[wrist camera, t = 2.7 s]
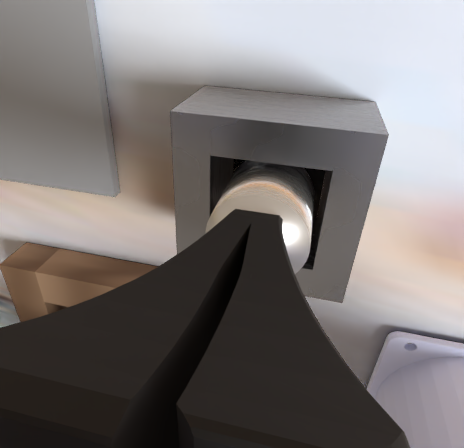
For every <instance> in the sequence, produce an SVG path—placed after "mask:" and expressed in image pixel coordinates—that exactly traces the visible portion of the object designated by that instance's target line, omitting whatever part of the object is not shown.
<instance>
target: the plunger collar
mask: <svg viewBox="0 0 464 448" xmlns="http://www.w3.org/2000/svg"><path fill="white" fill-rule="evenodd" d="M170 118H171V138H172V159H173V180H174V200H175V221H176V242H177V254H179V253H180V252H181V251H183V250H184V249H186V248H187V247H189V246H190V245H191V244H193V243H194V242H195V241H197V240H198V239H199V238H200V237H202V236H203V235H204V234H205V233H206V226H207V222H208V220H209V218H210V216H211V214H212V212H213V210H214V208H215V207H216V205H217V203H218V201H219V199H220V197H221V196H222V194H223V192H224V190H225V188H226V186H227V185H228V183H229V181H230V179H231V177H232V175H233V163H234V159H241V160H249V161H257V162H265V163H272V164H280V165H288V166H296V167H304V168H312V169H319V170H325V176H324V181H323V186H322V191H321V197H320V202H319V207H318V212H317V217H313V221H312V233H311V244H310V252H309V256H308V258H307V261H306V262H305V264H304V265H303V267H302V268H301V269H300V270H299V271H298V272H297V273H296V274H295V276H296V278H297V281H298V283H299V285H300V288H301V290H302V292H303V294H304V296H308V297H313V298H318V299H324V300H329V301H335V302H340V303H342V302H343V299H344V295H345V291H346V288H347V284H348V280H349V277H350V273H351V270H352V266H353V262H354V259H355V255H356V251H357V248H358V244H359V241H360V237H361V233H362V230H363V226H364V222H365V219H366V215H367V212H368V208H369V204H370V201H371V197H372V193H373V190H374V186H375V183H376V179H377V175H378V172H379V168H380V164H381V161H382V157H383V154H384V150H385V146H386V143H387V139H388V135H389V134H388V132H387V129H386V127H385V124H384V122H383V119H382V117H381V114H380V112H379V109H378V107H377V104H376V102H372V101H361V100H351V99H340V98H330V97H319V96H309V95H298V94H288V93H277V92H267V91H256V90H246V89H235V88H225V87H214V86H204V87H202V88H201V89H200V90H198V91H197V92H195V93H194V94H193V95H191V96H190V97H189V98H187V99H186V100H185V101H183V102H182V103H180V104H179V105H178V106H176V107H175V108H174V109H172V110H171V111H170Z"/></svg>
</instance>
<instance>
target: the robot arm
mask: <svg viewBox="0 0 464 448" xmlns="http://www.w3.org/2000/svg"><path fill="white" fill-rule="evenodd" d="M282 223H283V219H282V218H281V217H280V215H274V214H268V213H261V212H254V211H247V210H241V209H235V210H233V211H232V212H231V213H229V214H228V215H227V216H226V217H225V218H224V219H222V220H221V221H220V222H219V223H218V224H217V225H215V226H214V227H213V228H212V229H211V230H209V231H208V232H207V233H206V234H204V235H203V236H202V237H200V238H199V239H198V240H197V241H195V242H194V243H193V244H191V245H190V246H189V247H187V248H186V249H184V250H183V251H181V252H180V253H179V254H177V255H176V256H174V257H173V258H171V259H170V260H168V261H167V262H165V263H164V264H162V265H160V266H159V267H157V268H155V269H153V270H151V271H150V272H148V273H146V274H144V275H142V276H140V277H138V278H136V279H135V280H132V281H130V282H128V283H126V284H124V285H121V286H119V287H117V288H115V289H113V290H110V291H108V292H106V293H104V294H102V295H99V296H97V297H94V298H92V299H89V300H87V301H84V302H81V303H79V304H76V305H73V306H70V307H68V308H65V309H62V310H59V311H56V312H53V313H50V314H47V315H44V316H41V317H37V318H34V319H30V320H27V321H23V322H20V323H16V324H13V325H9V326H6V327H2V328H0V448H464V344H463V343H457V342H452V341H447V340H442V339H437V338H431V337H426V336H421V335H416V334H411V333H405V332H400V331H395V332H392V333H390V334H388V336H387V337H386V340H385V343H384V345H383V348H382V350H381V353H380V355H379V358H378V361H377V363H376V366H375V368H374V371H373V373H372V376H371V378H370V381H369V384H368V386H367V389H366V388H365V387H364V386H363V385H362V383H361V382H360V381H359V379H358V378H357V377H356V376H355V374H354V373H353V372H352V371H351V369H350V368H349V367H348V365H347V364H346V363H345V361H344V360H343V358H342V357H341V355H340V354H339V352H338V351H337V350H336V348H335V347H334V345H333V344H332V342H331V341H330V339H329V338H328V336H327V335H326V334H325V332H324V330H323V329H322V327H321V325H320V324H319V322H318V320H317V319H316V317H315V315H314V314H313V312H312V310H311V308H310V306H309V304H308V302H307V300H306V298H305V296H304V294H303V292H302V290H301V288H300V285H299V283H298V281H297V278H296V276H295V273H294V271H293V268H292V265H291V262H290V259H289V256H288V252H287V249H286V245H285V241H284V236H283V229H282ZM408 343H413V344H408Z"/></svg>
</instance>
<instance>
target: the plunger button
mask: <svg viewBox="0 0 464 448" xmlns="http://www.w3.org/2000/svg"><path fill="white" fill-rule="evenodd" d="M314 198H315V191H314V186H313V183H312V180H311V178H310V176H309V174H308V173H307V172H306V170H305V169H304V168H303V167H296V166H288V165H280V164H272V163H265V162H257V161H249V160H246V161H245V162H243V163H242V164H241V165H240V166H239V167H238V168H237V169H236V170H235V172H234V174H233V175H232V177H231V179H230V181H229V183H228V185H227V186H226V188H225V190H224V192H223V194H222V196H221V197H220V199H219V201H218V203H217V205H216V207H215V208H214V210H213V212H212V214H211V216H210V218H209V220H208V222H207V226H206V233H207V232H208V231H209V230H211V229H212V228H213V227H214V226H215V225H217V224H218V223H219V222H220V221H221V220H222V219H224V218H225V217H226V216H227V215H228V214H229V213H231V212H232V211H233V210H235V209H241V210H247V211H254V212H261V213H268V214H274V215H280V217H281V218H282V219H283V223H282V229H283V236H284V241H285V245H286V249H287V252H288V256H289V259H290V262H291V265H292V268H293V271H294V273H295V274H296V273H297V272H298V271H299V270H300V269H301V268H302V267H303V265H304V264H305V262H306V261H307V258H308V256H309V252H310V244H311V233H312V221H313V210H314ZM206 233H205V234H206Z"/></svg>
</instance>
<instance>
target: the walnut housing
mask: <svg viewBox="0 0 464 448" xmlns="http://www.w3.org/2000/svg"><path fill="white" fill-rule="evenodd" d="M157 267H158V266H152V265H147V264H141V263H136V262H130V261H125V260H120V259H114V258H109V257H103V256H98V255H92V254H87V253H82V252H76V251H71V250H65V249H60V248H54V247H49V246H43V245H38V244H33V243H27V242H26V243H25V244H24V245H23V246H22V247H20V248H19V249H18V250H17V251H15V252H14V253H13V254H12V255H11V256H9V257H8V258H7V259H6V260H4V261H3V262H2V263H1V264H0V269H1V271H2V274H3V277H4V279H5V282H6V284H7V287H8V290H9V292H10V295H11V298H12V300H13V303H14V306H15V308H16V311H17V314H18V316H19V319H20V321H21V322H23V321H27V320H30V319H34V318H37V317H41V316H44V315H47V314H50V313H53V312H56V311H59V310H62V309H65V308H68V307H70V306H73V305H76V304H79V303H81V302H84V301H87V300H89V299H92V298H94V297H97V296H99V295H102V294H104V293H106V292H108V291H110V290H113V289H115V288H117V287H119V286H121V285H124V284H126V283H128V282H130V281H132V280H135V279H136V278H138V277H140V276H142V275H144V274H146V273H148V272H150V271H151V270H153V269H155V268H157Z"/></svg>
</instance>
